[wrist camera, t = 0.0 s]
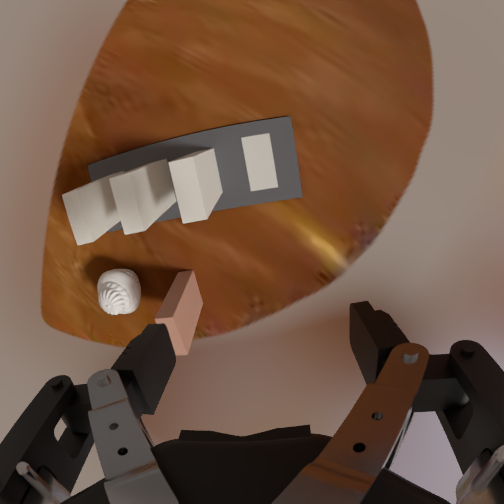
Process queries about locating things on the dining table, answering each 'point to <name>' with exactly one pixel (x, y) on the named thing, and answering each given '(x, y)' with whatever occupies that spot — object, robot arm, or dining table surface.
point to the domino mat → (226, 162)
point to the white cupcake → (119, 291)
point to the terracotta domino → (181, 311)
